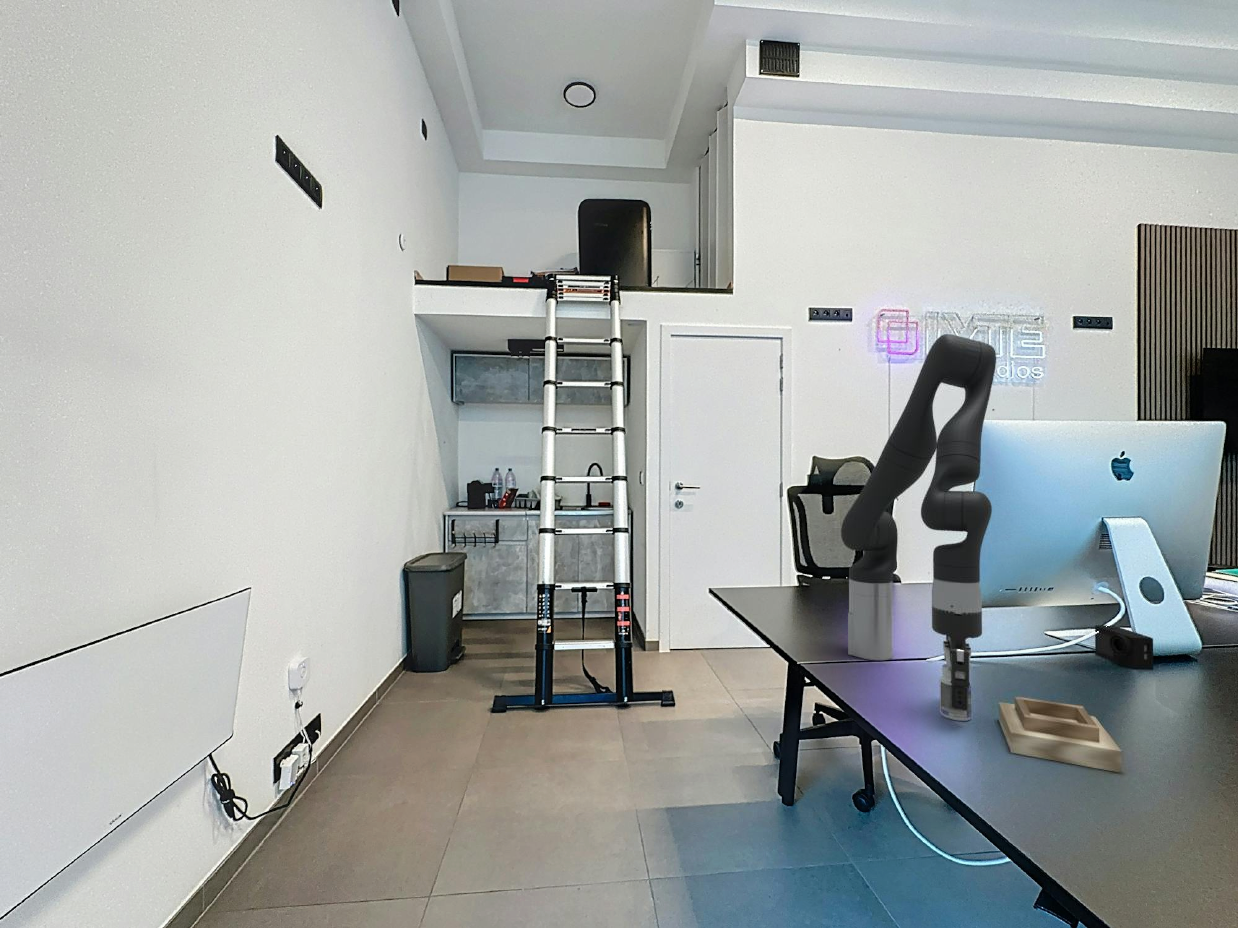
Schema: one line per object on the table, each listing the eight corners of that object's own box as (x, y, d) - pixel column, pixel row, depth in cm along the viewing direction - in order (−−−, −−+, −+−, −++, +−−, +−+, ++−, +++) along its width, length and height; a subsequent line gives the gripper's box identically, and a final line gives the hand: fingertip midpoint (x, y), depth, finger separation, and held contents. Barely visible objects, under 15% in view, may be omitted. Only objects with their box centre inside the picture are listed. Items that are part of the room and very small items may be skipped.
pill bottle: (976, 722, 97) (975, 672, 98) (945, 720, 98) (945, 670, 99) (965, 711, 102) (964, 663, 102) (936, 709, 103) (935, 661, 103)
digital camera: (1089, 654, 135) (1089, 624, 135) (1112, 654, 135) (1112, 624, 135) (1127, 669, 124) (1127, 637, 125) (1153, 670, 124) (1153, 637, 124)
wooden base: (1011, 752, 87) (1011, 719, 87) (998, 719, 99) (998, 690, 99) (1121, 772, 81) (1121, 736, 81) (1094, 735, 93) (1094, 703, 93)
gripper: (930, 596, 109) (930, 682, 108) (933, 612, 96) (934, 710, 95) (976, 599, 105) (977, 689, 105) (987, 617, 92) (988, 719, 92)
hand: (957, 699), depth 100 cm, fingers open, 8 cm apart
